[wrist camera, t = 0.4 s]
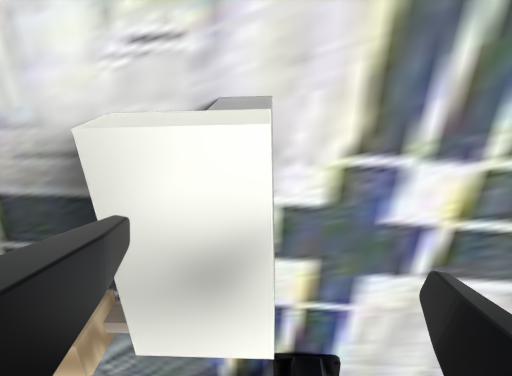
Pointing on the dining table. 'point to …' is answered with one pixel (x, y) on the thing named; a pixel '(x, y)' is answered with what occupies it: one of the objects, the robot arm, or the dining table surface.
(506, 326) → the robot arm
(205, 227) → the white rectangular box
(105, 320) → the wooden mallet
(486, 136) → the dining table surface
